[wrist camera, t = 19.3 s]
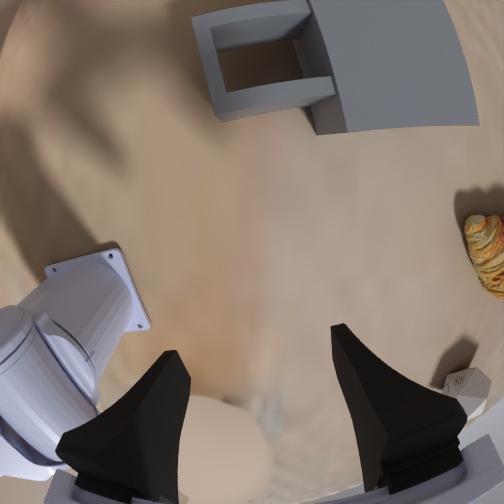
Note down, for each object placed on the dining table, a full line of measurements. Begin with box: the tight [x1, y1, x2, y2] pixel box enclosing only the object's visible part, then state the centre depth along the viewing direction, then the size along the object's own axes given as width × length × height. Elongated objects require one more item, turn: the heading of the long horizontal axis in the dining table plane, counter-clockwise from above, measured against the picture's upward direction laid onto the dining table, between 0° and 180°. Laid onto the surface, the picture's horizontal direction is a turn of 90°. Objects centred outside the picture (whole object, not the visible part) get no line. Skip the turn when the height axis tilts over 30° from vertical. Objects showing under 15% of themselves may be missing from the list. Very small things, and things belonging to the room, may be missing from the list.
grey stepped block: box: [191, 0, 480, 135], centre depth 13 cm, size 16×10×6 cm, turn 103°
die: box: [442, 367, 491, 421], centre depth 26 cm, size 8×9×10 cm
